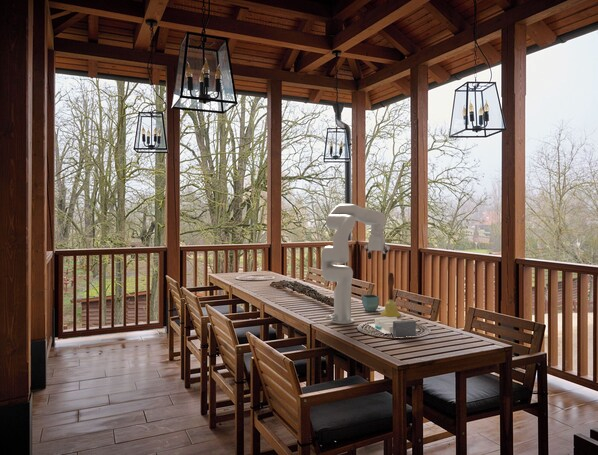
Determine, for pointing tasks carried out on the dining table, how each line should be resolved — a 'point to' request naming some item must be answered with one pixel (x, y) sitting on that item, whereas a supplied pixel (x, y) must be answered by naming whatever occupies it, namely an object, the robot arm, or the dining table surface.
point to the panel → (404, 328)
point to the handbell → (391, 301)
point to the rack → (385, 324)
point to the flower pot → (370, 302)
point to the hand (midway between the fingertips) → (376, 259)
